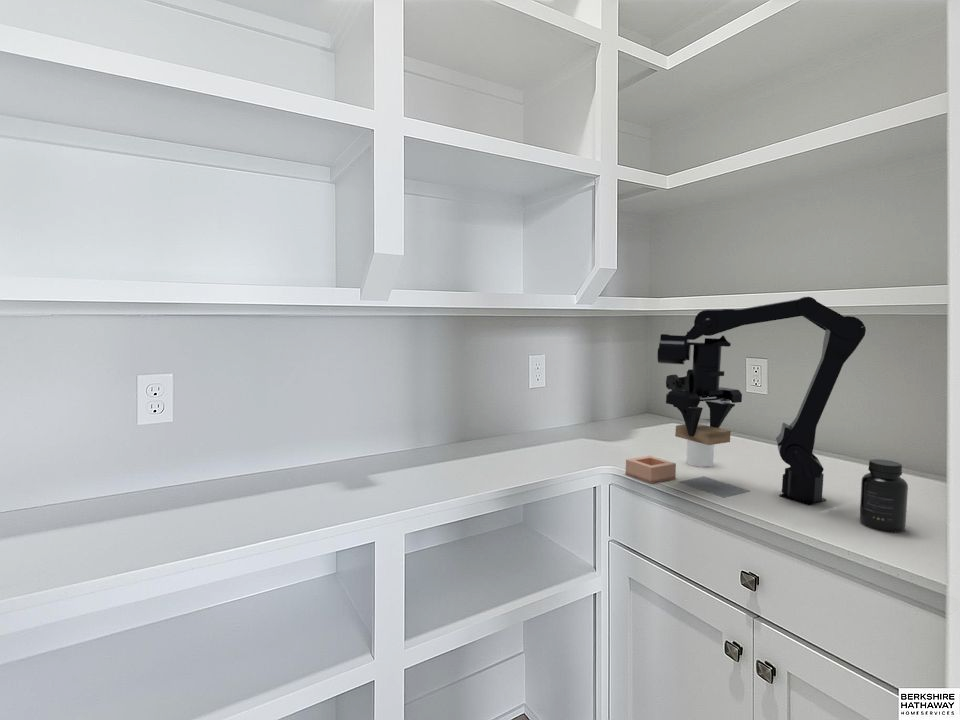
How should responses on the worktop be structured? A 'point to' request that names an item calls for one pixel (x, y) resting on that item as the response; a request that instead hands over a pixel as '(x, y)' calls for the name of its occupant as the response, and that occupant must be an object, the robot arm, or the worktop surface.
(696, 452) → the can
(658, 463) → the pink square box
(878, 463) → the supplement bottle
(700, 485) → the mat
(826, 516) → the worktop surface
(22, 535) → the worktop surface
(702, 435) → the lid
